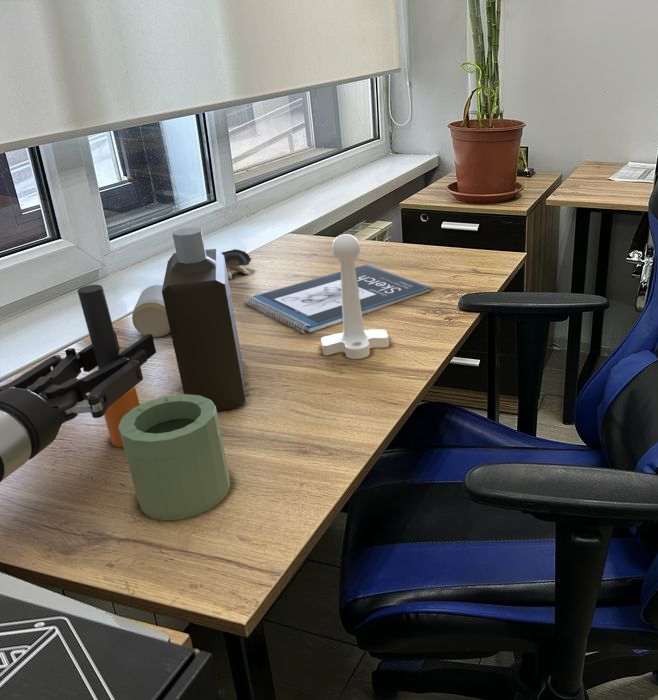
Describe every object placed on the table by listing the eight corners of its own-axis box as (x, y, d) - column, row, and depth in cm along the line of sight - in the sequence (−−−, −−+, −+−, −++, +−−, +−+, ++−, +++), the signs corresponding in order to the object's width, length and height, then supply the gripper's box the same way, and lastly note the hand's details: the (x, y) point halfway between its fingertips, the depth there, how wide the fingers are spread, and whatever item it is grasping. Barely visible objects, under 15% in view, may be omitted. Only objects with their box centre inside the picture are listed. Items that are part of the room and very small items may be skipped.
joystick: (385, 338, 124) (377, 227, 116) (393, 356, 118) (385, 240, 109) (321, 346, 122) (308, 234, 113) (325, 365, 115) (312, 247, 106)
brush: (105, 448, 94) (61, 294, 85) (125, 430, 98) (85, 281, 88) (135, 451, 93) (94, 295, 84) (154, 433, 97) (117, 283, 88)
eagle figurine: (214, 282, 148) (255, 268, 151) (200, 252, 148) (242, 237, 151) (215, 291, 155) (255, 276, 158) (202, 261, 155) (241, 248, 158)
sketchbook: (431, 293, 144) (430, 284, 144) (305, 337, 125) (304, 327, 125) (366, 269, 158) (365, 260, 157) (244, 305, 139) (243, 296, 138)
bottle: (243, 363, 116) (217, 214, 105) (246, 410, 102) (217, 244, 92) (191, 371, 114) (160, 219, 103) (188, 420, 100) (151, 251, 89)
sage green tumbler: (122, 518, 81) (98, 436, 76) (170, 466, 90) (152, 391, 85) (204, 527, 79) (185, 444, 75) (245, 474, 88) (231, 397, 84)
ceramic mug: (134, 342, 124) (125, 301, 121) (144, 324, 132) (136, 285, 128) (197, 337, 126) (190, 297, 123) (203, 319, 134) (197, 281, 130)
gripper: (-58, 457, 78) (81, 362, 98) (87, 471, 75) (199, 371, 95) (-82, 397, 74) (67, 313, 95) (68, 410, 71) (188, 320, 92)
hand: (133, 342), depth 95 cm, fingers open, 5 cm apart
